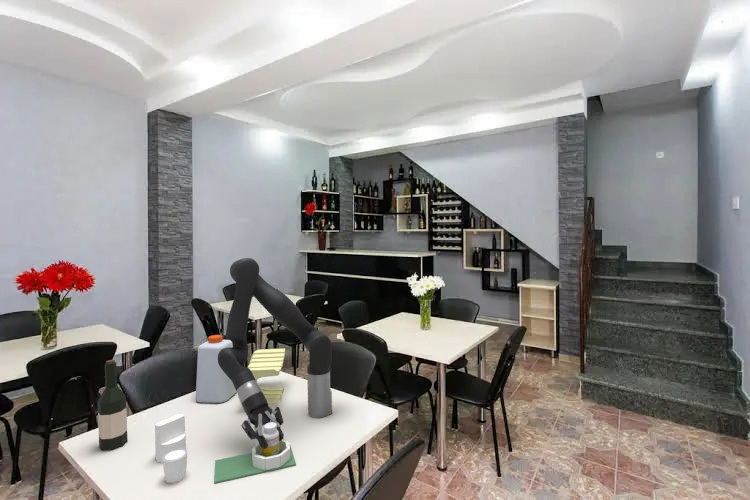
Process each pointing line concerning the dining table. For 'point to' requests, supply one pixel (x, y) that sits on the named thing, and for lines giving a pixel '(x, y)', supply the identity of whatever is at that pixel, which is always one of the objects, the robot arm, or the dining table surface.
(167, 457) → the white tapered cup
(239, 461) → the green board with ring
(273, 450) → the supplement bottle
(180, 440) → the cylinder with rectangular tab
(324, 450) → the dining table surface
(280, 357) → the slatted curved stool
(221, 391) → the plastic bottle
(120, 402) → the wine bottle
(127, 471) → the dining table surface
